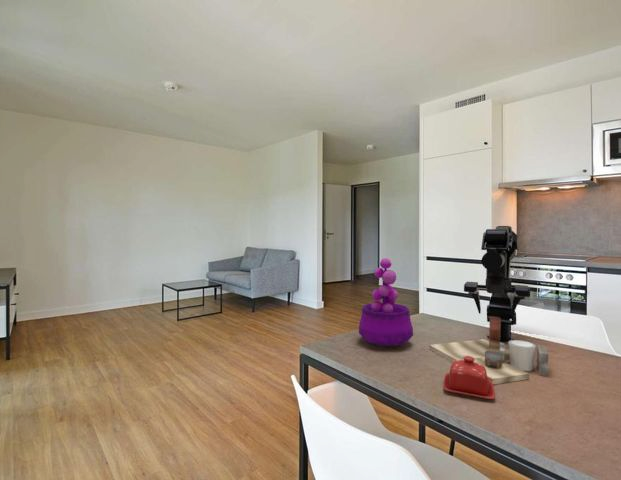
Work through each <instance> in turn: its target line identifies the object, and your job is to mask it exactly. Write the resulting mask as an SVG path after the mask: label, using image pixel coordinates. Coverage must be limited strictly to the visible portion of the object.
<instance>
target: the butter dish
mask: <svg viewBox="0 0 621 480" xmlns="http://www.w3.org/2000/svg"><path fill="white" fill-rule="evenodd" d="M474 360H475V359H474V358H473V357H471V356H465V357H464V360H457V361H454V362H451V366H450V369H449V372H447V373H445V374H444V379H443V385H442V387H443V389H444V390H445V391H447V392H450V393H453V394H458V395H464V396H469V397H476V398H479V399H480V398H481V399H485V400H486V399H487V400H495V398H496V393H495V392H496V391H495V387H494V385H493V383H492V381H490V380H488V379H487V372H486V369H485V367H484V366H483V365H481V364H479V363H476V362H474Z"/></svg>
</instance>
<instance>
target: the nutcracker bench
mask: <svg viewBox="0 0 621 480" xmlns="http://www.w3.org/2000/svg"><path fill="white" fill-rule="evenodd" d="M488 348H489V339H486V338H485V339H484V338H481V339H473V340H471V339H470V340H465V341H464V340H463V341H453V342H443V343H435V344H429V348H428V349H429V350H430V351H432V352H433V353H436V354H437V355H438V356H440V357H442V358H444V359H446V360H447V361H449V362H451V363H453V362H454V361H457V360H464V357H465V356H471V357H473V358H474V359H475V360H474V362H476V363H479V364H481V365H483V366H484V367H485V369H486V372H487V379H488V380H490V381H492V383H493V386H494V385H499V384H506V383H513V382H518V381H519V382H520V381H525V380H530V373H529V372H528V371H522V370H520V369H518V368H516V367H514V366H512V365H510V363H507V362H505V361H502V366H501V367H492V366H488V365H487V364H485V351H488ZM504 360H510V355H509V348H507V347H505V346H504ZM536 367H537V372H538V376H544V377H548V376H549V352H548V350H547V346H546V345H542V344H541V345H540V344H536Z"/></svg>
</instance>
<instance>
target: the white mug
mask: <svg viewBox="0 0 621 480" xmlns="http://www.w3.org/2000/svg"><path fill="white" fill-rule="evenodd" d="M508 349H509V355H510V359H509V365H512V366H514V367H516V368H518V369H520V370H522V371H524V372H531V371H533V370H534V362H535V354H536V349H537V344H535V343H533V342H530V341H527V340H521V339H515V340H510V341H508Z"/></svg>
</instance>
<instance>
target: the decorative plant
mask: <svg viewBox="0 0 621 480" xmlns="http://www.w3.org/2000/svg"><path fill="white" fill-rule="evenodd" d="M379 266H380V268H379V267H378V268H376V269H375V270H374V271H373V273H374V276H375V277H376V278H377V279H381V280H382V285H380V286H379V288H376V289H373V291H372V293H371V296H372V298H373V300H374V301H373V302H372V303H367V304H364V305H363V306H362V309H361V317H360V320H359V324H358V335H360V336H361V337H362V339H364V341H366V342H368V343H370V344H372V345H373V344H374V345H377V346H381V347H382V346H384V347H395V346H400V345H403V344H407V343H408V342H409V341H410V340H411V338H412V337H413V336H414V329H413V328H414V327H413V325H412V321H411V314H410V308H409V307H407V306H405V305H402V304H398V303H395V302H396V301H397V299H398V297H399V293H398V291H397V290H396V289H394V287H393V286H392V285H393V284H394V283H395V282H396V280H397V274H396V272H394V271H393V270H390V268H391V267H392V262H391V260H390V259H389V258H387V257H384V258H382V259H381V260H380V262H379ZM381 300H382V302H381Z"/></svg>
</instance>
